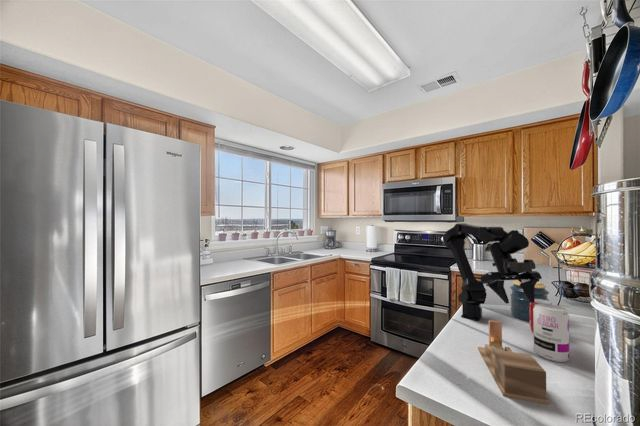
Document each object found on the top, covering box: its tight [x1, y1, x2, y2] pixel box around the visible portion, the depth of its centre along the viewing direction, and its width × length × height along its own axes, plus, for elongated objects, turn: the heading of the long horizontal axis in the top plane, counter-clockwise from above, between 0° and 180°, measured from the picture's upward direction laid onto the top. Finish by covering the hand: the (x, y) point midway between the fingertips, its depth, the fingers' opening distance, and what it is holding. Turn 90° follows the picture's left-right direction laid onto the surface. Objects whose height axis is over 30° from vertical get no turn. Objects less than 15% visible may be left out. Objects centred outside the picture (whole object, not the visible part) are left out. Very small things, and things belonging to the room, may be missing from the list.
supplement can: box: [533, 303, 570, 363], centre depth 80 cm, size 8×8×15 cm
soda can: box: [529, 299, 553, 333], centre depth 95 cm, size 7×7×12 cm
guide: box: [477, 344, 550, 405], centre depth 71 cm, size 23×9×7 cm, turn 161°
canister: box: [509, 280, 550, 322], centre depth 111 cm, size 13×13×18 cm
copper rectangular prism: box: [488, 319, 505, 351], centre depth 75 cm, size 13×3×9 cm, turn 161°
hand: (520, 303), depth 86 cm, fingers open, 9 cm apart
